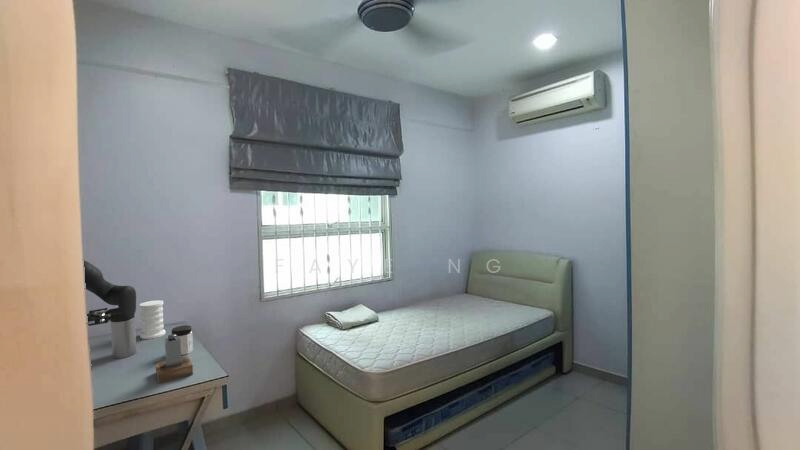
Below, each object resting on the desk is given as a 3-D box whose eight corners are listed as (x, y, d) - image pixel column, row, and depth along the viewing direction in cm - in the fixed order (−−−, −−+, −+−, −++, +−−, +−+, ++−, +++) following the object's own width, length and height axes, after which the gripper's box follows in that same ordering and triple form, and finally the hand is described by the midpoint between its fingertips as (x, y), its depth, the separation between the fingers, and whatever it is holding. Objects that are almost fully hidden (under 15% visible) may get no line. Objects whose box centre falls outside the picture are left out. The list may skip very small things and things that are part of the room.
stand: (155, 372, 153) (155, 363, 152) (188, 364, 160) (187, 355, 160) (158, 383, 143) (158, 373, 143) (192, 374, 151) (192, 365, 151)
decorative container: (167, 330, 204) (165, 299, 203) (163, 337, 194) (162, 304, 193) (142, 333, 199) (141, 301, 198) (138, 340, 189) (136, 307, 188)
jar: (185, 356, 169) (184, 331, 168) (168, 356, 169) (167, 331, 168) (196, 348, 178) (195, 324, 177) (179, 348, 178) (178, 325, 177)
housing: (165, 363, 152) (163, 335, 151) (180, 360, 155) (179, 332, 155) (166, 368, 148) (165, 338, 147) (182, 364, 151) (181, 335, 150)
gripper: (66, 317, 131) (122, 307, 142) (69, 307, 142) (120, 299, 153) (68, 336, 132) (123, 326, 142) (70, 326, 143) (122, 316, 153)
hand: (121, 312), depth 147 cm, fingers open, 8 cm apart
